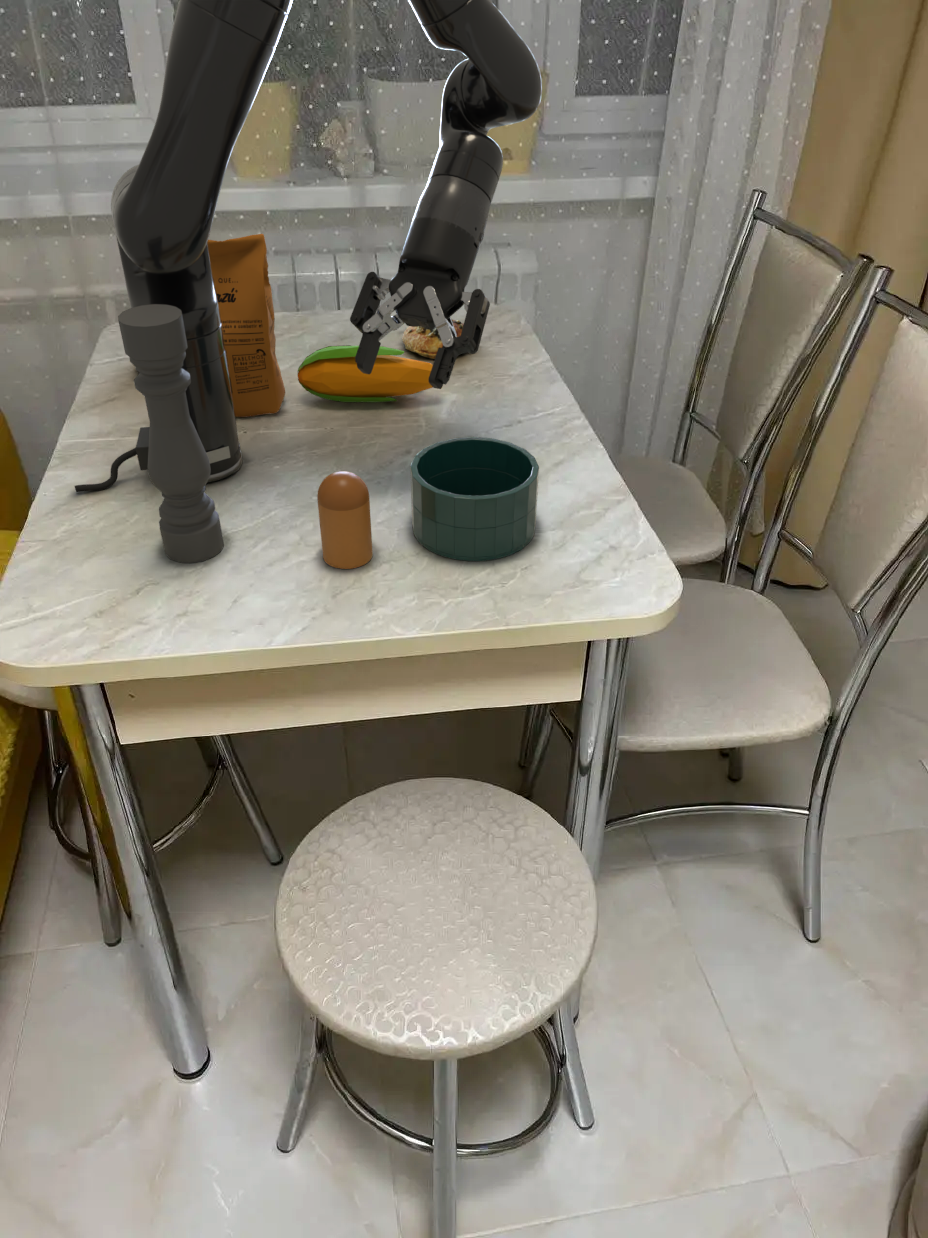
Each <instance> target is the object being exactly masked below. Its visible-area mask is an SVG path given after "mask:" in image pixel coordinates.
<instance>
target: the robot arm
mask: <svg viewBox="0 0 928 1238" xmlns="http://www.w3.org/2000/svg"><path fill="white" fill-rule="evenodd" d="M293 1H294V0H178V4H177V7H176V11H175V16H174V20H173V24H172V28H171V35H170V39H169V40H170V41H169V44H168V49H167V51H168V52H167V56H166V62H165V68H164V76H163V77H164V78H163V85H162V92H161V99H160V103H159V109H158V113H157V116H156V120H155V122H154V126H153V129H152V132H151V134H150V137H149V139H148V142H147V144H146V147H145V149H144V151H143V154H142V156H141V159H140V161H139V164H136V165H134V166H132V167H130V168H129V169H127V170H126V171H125V172H123V174H121V176H120V177H119V178H118V180H117V181H116V183H115V185H114V187H113V190H112V192H111V193H112V194H111V197H110V212H111V218H112V224H113V228H114V234H115V239H116V242H117V247H118V252H119V256H120V262H121V268H122V271H123V276H124V282H125V287H126V292H127V298H128V303H129V309H130V308H133V307H137V306H142V305H151V304H163V305H170V306H175V307H177V308H179V309H180V310H181V312H182V317H183V323H184V329H185V335H186V340H187V346H188V348H187V349H186V350H185V352H186V357H185V359H184V361H183V366H182V367H181V368H182V369H184V370H185V371H187V372H188V373H190V379H191V383H190V385H189V386H188V387H187V390H186V391H185V392H186V398H187V403H188V409H189V414H190V418H191V420H192V422H193V424H194V427H195V429H196V431H197V433H198V436H199V438H200V440H201V443H202V445H203V447H204V449H205V451H206V454H207V456H208V458H209V462H210V468H211V473H210V477H209V479H208V481H207V483H212V482H216V481H217V482H218V481H219V480H223V479H225V478H227V477H228V478H229V476H231V475H234V474H235V473H236V472H237V471H239V469H241V467H242V465H243V454H242V451H241V443H240V440H239V439H240V438H239V432H238V427H237V420H236V419H237V417H235V411H234V405H233V398H232V391H231V384H230V378H229V371H228V364H227V357H226V351H225V344H224V337H223V330H222V324H221V317H220V310H219V303H218V298H217V294H216V289H215V285H214V280H213V275H212V270H211V264H210V258H209V251H208V244H207V242H208V240H210V235H211V231H212V227H213V226H212V225H213V221H214V218H215V213H216V209H217V205H218V201H219V198H220V197H219V196H220V194H221V189H222V187H223V182H224V178H225V176H226V171H227V167H228V165H229V161H230V157H231V155H232V152H233V149H234V146H235V144H236V142H237V140H238V138H239V135H240V132H241V130H242V128H243V126H244V124H245V122H246V119H247V117H248V115H249V113H250V111H251V109H252V106H253V105H254V101H255V99H256V97H257V95H258V92H259V90H260V87H261V85H262V83H263V80H264V78H265V75H266V72H267V70H268V68H269V65H270V63H271V61H272V58H273V56H274V53H275V51H276V47H277V45H278V43H279V40H280V38H281V35H282V32H283V29H284V26H285V23H286V21H287V19H288V15H289V13H290V10H291V8H292V4H293ZM407 2H408V3H409V5H410V6H411V8H412V10H413V12H414V14H415V16H416V18H417V20H418V22H419V24H420V26H421V28H422V30H423V31H424V33H425V36H426V37H427V38H428V39H429V41H430V43H431V44H432V45H433V46H434V47H436V48H438V49H440V50H446V51H447V50H448V51H456V52H459V53H461V54H463V56H465V57H466V58H467V59H464V60H462V61H460V62H459V63H458V64H457V65H456V66H455V67H454V68H453V69H452V71H451V72H450V74H449V76H448V77H447V80H446V81H445V85H444V86H443V87H444V88H443V92H442V98H441V111H440V123H439V124H440V126H439V147H438V150H437V153H436V155H435V159H434V161H433V165H432V168H431V170H430V173H429V176H428V180H427V182H426V185H425V188H424V190H423V191H422V193H421V195H420V197H419V200H418V203H417V205H416V208H415V211H414V213H413V217H412V220H411V223H410V225H409V230H408V232H407V236H406V239H405V242H404V244H403V247H402V249H401V250H402V251H401V253H400V256H399V261H398V270H397V272H396V274H395V275H394V276H393V277H392V278H391V279H388V278H384V277H380V276H379V275H378V274H377V273H376V272H375V271H369V272H368V273H367V274H366V277H365V279H364V282H363V284H362V287H361V289H360V292H359V294H358V297H357V299H356V302H355V304H354V307H353V310H352V313H351V314H350V317H349V321H350V323H351V325H353V327H355V328H356V329H357V330H358V331H359V332H360V334H362V335H361V338H360V342H359V345H358V346H359V347H358V350H357V353H356V356H355V362H356V363H357V368H358V369H359V370H360V371H361V372H362V373H365V374H371V372H372V369H373V366H374V363H375V360H376V357H377V354H378V351H379V348H380V346H382V343H381V342H380V341H381V340H382V339H383V338H385V337H386V336H387V335H389V334H390V333H391V332H392V331H393V332H394V331H398V330H399V329H400V328H401V327H403V325H404V324H405V325H406V326H407V327H409V326H412V327H417V326H421V327H423V328H425V329H428V330H433V329H434V328H437V330H438V332H439V335H440V338H441V341H442V344H443V347H442V348H440V347H439V348H438V351H437V354H436V357H435V359H433V363H432V364H433V366H432V369H431V372H430V375H429V383H430V384H431V385H432V387H433V389H437V390H441V389H442V388H443V385H445V386H447V384H448V383H449V381H450V378H451V375H452V373H453V369H454V367H455V363H456V360H457V358H458V357H459V356H460V355H461V354H467V353H468V354H470V355H474V354H476V353H478V351H479V348H480V345H481V341H482V337H483V332H484V330H485V325H486V321H487V318H488V314H489V310H490V307H491V302H490V301H489V299H488V297H487V296H486V294H485V293H484V292H483V290H482V289H481V288H476V289H474V290H473V291H472V292H471V291H470V292H469V291H465V288H466V287H467V285H468V283H469V280H470V277H471V274H472V272H473V268H474V266H475V263H476V259H477V256H478V252H479V249H480V247H481V244H482V242H483V240H484V238H485V237H484V236H485V231H486V228H487V224H488V219H489V213H490V209H491V206H492V203H493V199H494V197H495V193H496V190H497V187H498V185H499V181H500V177H501V174H502V170H503V165H504V155H503V151H502V150H501V147H500V146H499V144H498V143H497V142H496V141H495V140H494V139H492V138H491V137H490V136H488V133H489V131H490V130H491V129H494V128H499V127H504V126H509V125H513V124H517V123H521V122H523V121H526V120H528V119H529V118H531V117H532V116H533V115H534V114H535V113H536V112H537V110H538V108H539V106H540V104H541V100H542V96H543V95H542V94H543V83H542V76H541V70H540V68H539V65H538V62H537V60H536V58H535V56H534V54H533V53H532V50H531V49H530V47H529V46H528V45H527V44H526V42H525V41H524V40H523V38H522V37H521V36H520V35H519V33H518V32H517V31H516V30H515V28H514V27H513V26H512V25H511V24H510V22H509V20H508V19H507V18H506V16H505V15H504V14H503V13H502V12H501V11H500V10H499V9H498V8H497V6H496V5H495V4H494V3H493V2H492V0H407ZM388 294H389V295H390V297H389V298H388V299H387V300H385V299H386V296H387V295H388ZM384 300H385V301H384ZM381 301H384V302H383V303H382V304H381ZM380 304H381V305H380ZM463 306H464V310H465V311H466V314H465V317H464V322H463V323H464V325H463V329H462V332H461V336H459V337H457V336H456V335H457V334H456V331H455V328H454V325H453V323H452V320H453V319H452V316H453V315H454V314H456V313H457V312H458V311H459V310H461V308H462V307H463ZM393 312H395V314H394V315H392V314H393ZM451 319H452V320H451ZM149 429H150V426H144V427H142V426H141V427H140V428H139V431H138V437H137V440H136V444H135V447H134V448H132V449H130V450H128V451H126V452H124V453H122V454H121V455H118V456H117V458H116V459H114V461H113V462H112V463H111V466H110V475H109V478H108V479H106V480H105V481H103V482H100V483H99V482H98V483H88V484H87V483H85V484H76V485H74V490H75V493H82V492H98V491H103V490H107V489H109V488H110V487H112V486H113V485H114V484H116V482H117V479H118V476H119V468H120V467H121V465H122V464H123V463H124V462H125V461H127V460H129V459H132V458H134V457H135V456H137V461H138V466H139V470H140V471H148V451H149Z"/></svg>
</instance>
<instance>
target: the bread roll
mask: <svg viewBox="0 0 928 1238" xmlns="http://www.w3.org/2000/svg"><path fill="white" fill-rule="evenodd" d="M451 320H452V323H453V325H454V328H455V331H456V334H457V335H456V336H457V337H459V336H461V332H462V329H463V325H464V322H461V321H460V320H459V319H457V320H455V319H452V318H451ZM401 339H402V343H403V344H404V347H405V350H407V351H410V352H412V353H415V354H418V355H419V356H421V357H424V358H429V359H433V360H435V357H436V354H437V351H438V348H439V347H440V348H442V347H443V344H442V341H441V338H440V335H439V332H438V330H437V328H434V329H433V330H428V329H425V328H423V327H421V326H417V327H412V326H407V328H405V330H404V331H403V335H402V337H401Z"/></svg>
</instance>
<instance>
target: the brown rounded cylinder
mask: <svg viewBox="0 0 928 1238" xmlns="http://www.w3.org/2000/svg"><path fill="white" fill-rule="evenodd" d="M316 497H317V500H316V501H317V509H318V519H319V520H318V521H319V529H320V530H319V531H320V540H321V541H320V542H321V550H322V558H323V561H324V562H325V563H326V564H327V565H328V566H330V567H332V568H335V569H341V570H351V569H357V568H361V567H363V566H365V565H367V564H368V563H369V562H370V561H371V560H372V558H373V556H374V555H373V554H374V553H373V552H374V551H373V536H372V535H373V533H372V520H371V519H372V518H371V504H370V503H371V501H370V491H369V489H368V486H367V484H366V482H365V481H364V480H363V478H361V476H359V475H357V474H355V473H354V472H351V471H347V470H339V471H335V472H332V473H330V474H328V475H327V476H326V477H324V478H323V480H322V481H321V482H320V484H319V486H318V489H317V494H316Z"/></svg>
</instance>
